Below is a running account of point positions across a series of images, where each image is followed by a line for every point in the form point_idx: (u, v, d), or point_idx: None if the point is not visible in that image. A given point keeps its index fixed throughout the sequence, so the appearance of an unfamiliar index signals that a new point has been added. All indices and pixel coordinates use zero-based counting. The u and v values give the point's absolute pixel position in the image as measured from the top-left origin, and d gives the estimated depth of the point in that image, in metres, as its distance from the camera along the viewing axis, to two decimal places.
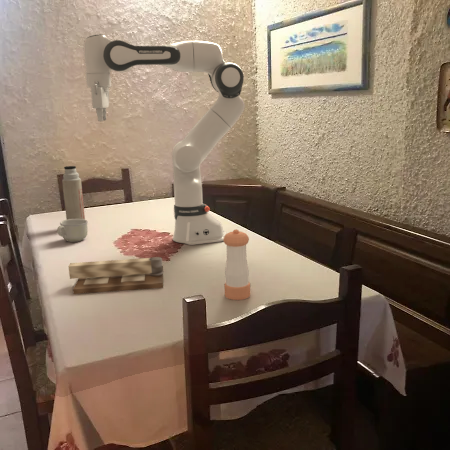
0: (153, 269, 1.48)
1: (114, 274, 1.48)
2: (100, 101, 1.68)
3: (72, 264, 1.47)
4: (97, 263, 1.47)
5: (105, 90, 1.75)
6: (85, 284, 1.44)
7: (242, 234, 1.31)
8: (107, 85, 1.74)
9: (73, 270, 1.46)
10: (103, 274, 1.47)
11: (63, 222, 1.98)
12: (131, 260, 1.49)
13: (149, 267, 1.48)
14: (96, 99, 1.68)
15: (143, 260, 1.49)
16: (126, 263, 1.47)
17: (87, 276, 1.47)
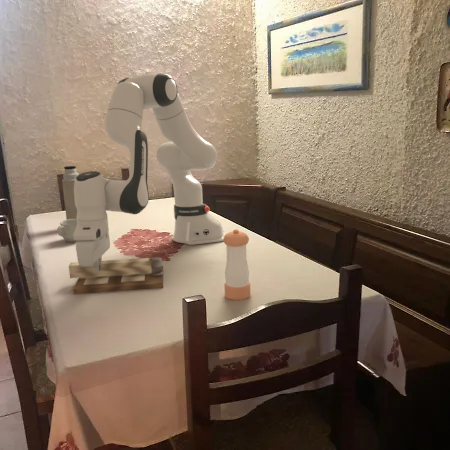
0: (153, 269, 1.48)
1: (114, 274, 1.48)
2: None
3: (72, 264, 1.47)
4: None
5: None
6: (85, 284, 1.44)
7: (242, 234, 1.31)
8: None
9: (73, 270, 1.46)
10: (103, 274, 1.48)
11: (63, 222, 1.98)
12: (131, 260, 1.49)
13: (149, 267, 1.49)
14: None
15: (143, 260, 1.49)
16: (126, 263, 1.47)
17: (87, 276, 1.47)
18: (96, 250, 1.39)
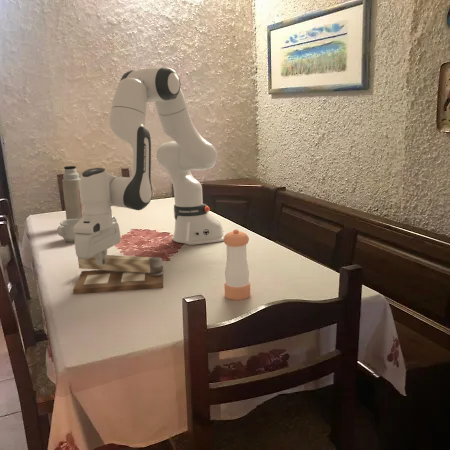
0: (151, 268, 1.49)
1: (116, 269, 1.52)
2: None
3: None
4: None
5: None
6: (85, 284, 1.44)
7: (242, 234, 1.31)
8: None
9: (81, 261, 1.54)
10: (107, 268, 1.53)
11: (63, 222, 1.98)
12: (133, 257, 1.52)
13: (148, 266, 1.49)
14: None
15: (143, 259, 1.50)
16: (127, 260, 1.50)
17: (93, 268, 1.54)
18: (96, 243, 1.45)
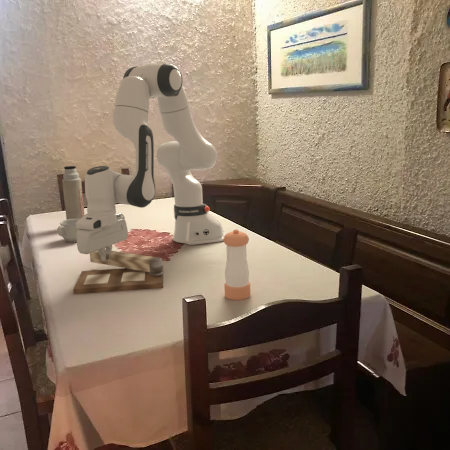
0: (150, 268, 1.49)
1: (121, 266, 1.55)
2: None
3: None
4: None
5: None
6: (85, 284, 1.44)
7: (242, 234, 1.31)
8: None
9: (92, 255, 1.60)
10: (113, 264, 1.57)
11: (63, 222, 1.98)
12: (136, 256, 1.53)
13: (147, 266, 1.50)
14: None
15: (144, 258, 1.51)
16: (130, 258, 1.53)
17: (102, 263, 1.59)
18: (98, 239, 1.50)
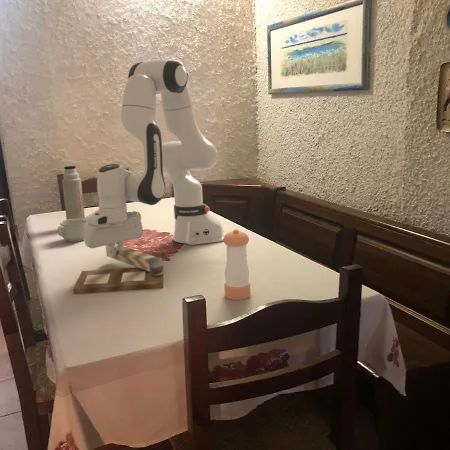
0: (149, 267, 1.50)
1: (128, 262, 1.58)
2: None
3: None
4: (121, 249, 1.61)
5: None
6: (85, 284, 1.44)
7: (242, 234, 1.31)
8: None
9: (108, 249, 1.66)
10: (123, 260, 1.60)
11: (63, 222, 1.98)
12: (141, 254, 1.55)
13: (148, 265, 1.50)
14: None
15: (146, 257, 1.52)
16: (134, 255, 1.55)
17: (115, 258, 1.64)
18: (105, 235, 1.54)
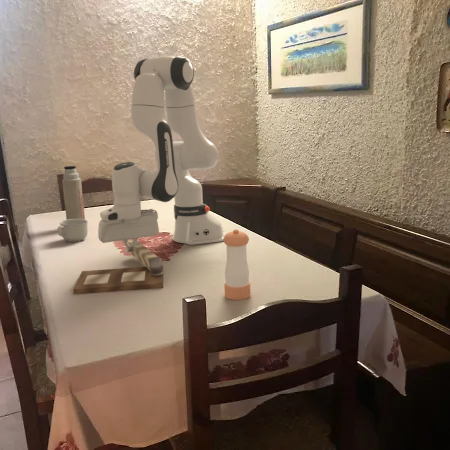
0: (149, 267, 1.50)
1: (139, 260, 1.61)
2: None
3: None
4: (136, 245, 1.65)
5: None
6: (85, 284, 1.44)
7: (242, 234, 1.31)
8: None
9: (128, 245, 1.71)
10: (136, 256, 1.64)
11: (63, 222, 1.98)
12: (148, 252, 1.56)
13: (149, 264, 1.51)
14: None
15: (149, 256, 1.53)
16: (142, 253, 1.57)
17: (132, 253, 1.68)
18: (117, 231, 1.59)
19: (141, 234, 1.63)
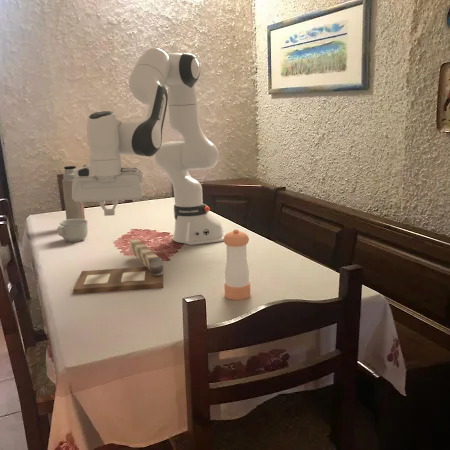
0: (149, 267, 1.50)
1: (140, 259, 1.61)
2: None
3: (134, 239, 1.72)
4: (138, 245, 1.65)
5: None
6: (85, 284, 1.44)
7: (242, 234, 1.31)
8: None
9: (131, 244, 1.71)
10: (137, 256, 1.64)
11: (63, 222, 1.98)
12: (149, 252, 1.56)
13: (149, 264, 1.51)
14: (141, 188, 1.43)
15: (150, 256, 1.53)
16: (143, 253, 1.57)
17: (134, 253, 1.68)
18: (91, 190, 1.39)
19: (120, 196, 1.41)
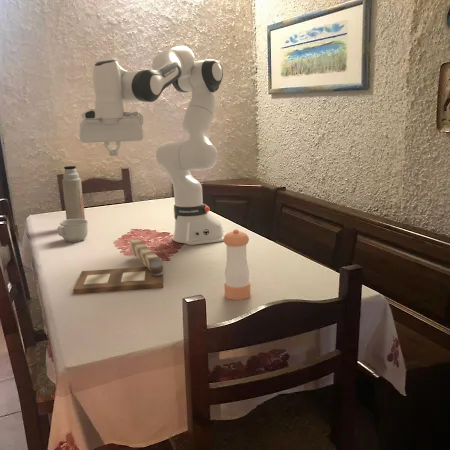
0: (149, 267, 1.50)
1: (140, 259, 1.61)
2: None
3: (134, 239, 1.72)
4: (138, 245, 1.65)
5: None
6: (85, 284, 1.44)
7: (242, 234, 1.31)
8: None
9: (131, 244, 1.71)
10: (137, 256, 1.64)
11: (63, 222, 1.98)
12: (149, 252, 1.56)
13: (149, 264, 1.51)
14: (142, 131, 1.58)
15: (150, 256, 1.53)
16: (143, 253, 1.57)
17: (134, 253, 1.68)
18: (97, 131, 1.55)
19: (123, 137, 1.56)
